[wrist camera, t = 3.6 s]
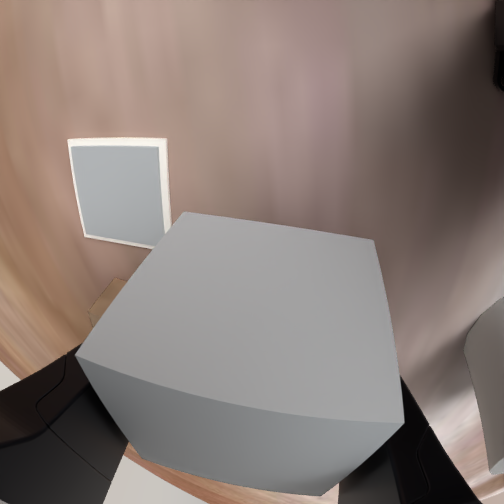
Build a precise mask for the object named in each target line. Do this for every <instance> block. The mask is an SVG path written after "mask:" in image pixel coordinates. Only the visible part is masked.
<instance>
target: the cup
mask: <svg viewBox="0 0 504 504" xmlns="http://www.w3.org/2000/svg"><path fill="white" fill-rule="evenodd" d="M463 351H464V354H465V358H466V361H467V365H468V368H469V372H470V375H471V379H472V383H473V387H474V391H475V395H476V399H477V403H478V408H479V412H480V417H481V422H482V427H483V433H484V438H485V444H486V451H487V458H488V466H489V471H490V473H491V474H492V475H494V474H503V473H504V297H503V298H501V299H499V300H498V301H497V302H496V303H495V304H494V305H492V306H491V307H490V308H489V309H488V310H486V311H485V312H484V313H483V314H482V315H480V317H479V318H478V320H477V321H476V323H475V324H474V326H473V327H472V328H471V330H470V331H469V332H468V334H467V337H466V342H465V346H464V350H463Z"/></svg>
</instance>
